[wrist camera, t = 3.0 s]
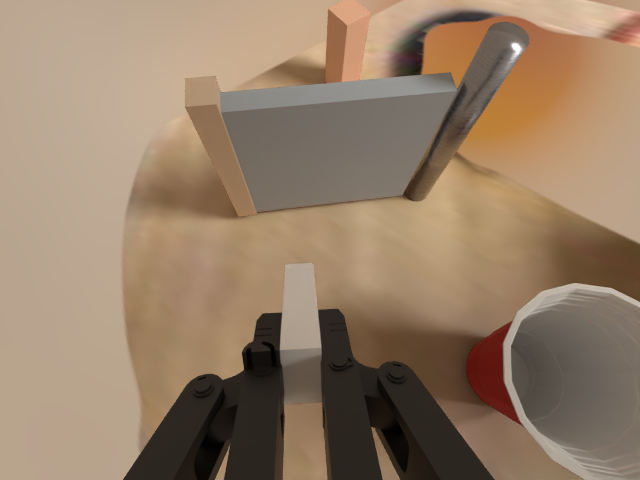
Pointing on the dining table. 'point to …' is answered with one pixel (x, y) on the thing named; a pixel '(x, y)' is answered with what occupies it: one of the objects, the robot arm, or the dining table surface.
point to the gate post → (469, 102)
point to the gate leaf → (317, 138)
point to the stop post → (346, 41)
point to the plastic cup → (570, 377)
